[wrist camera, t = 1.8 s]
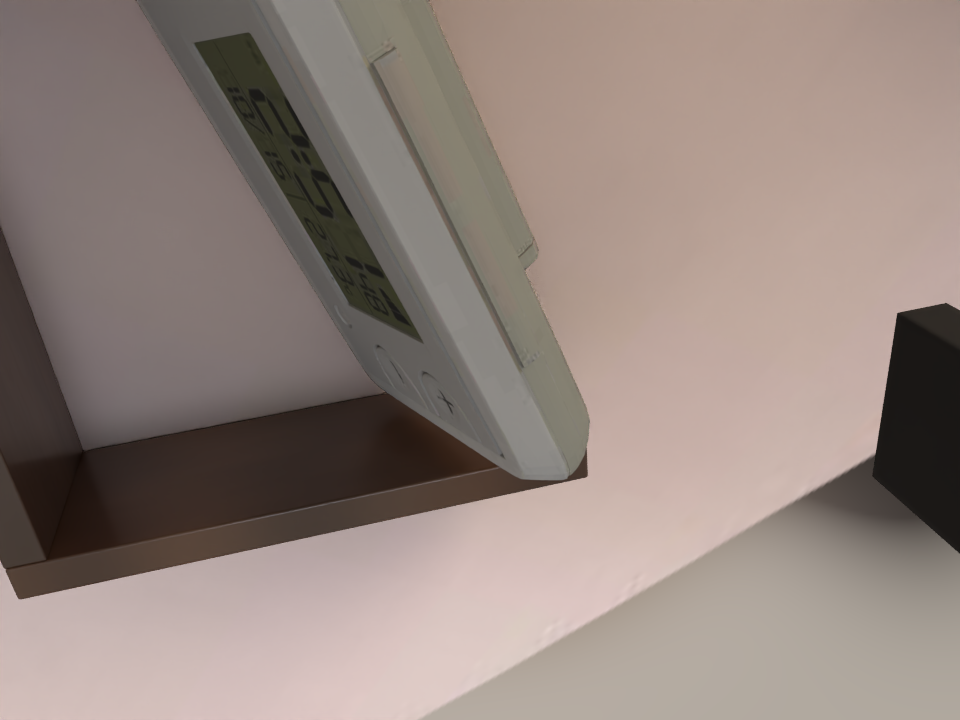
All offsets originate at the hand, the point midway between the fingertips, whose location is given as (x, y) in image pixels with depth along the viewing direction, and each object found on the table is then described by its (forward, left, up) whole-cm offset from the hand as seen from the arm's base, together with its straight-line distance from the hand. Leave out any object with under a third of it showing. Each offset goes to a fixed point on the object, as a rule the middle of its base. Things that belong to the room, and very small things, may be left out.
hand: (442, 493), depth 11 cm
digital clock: (0, 0, -19) cm, 19 cm away
